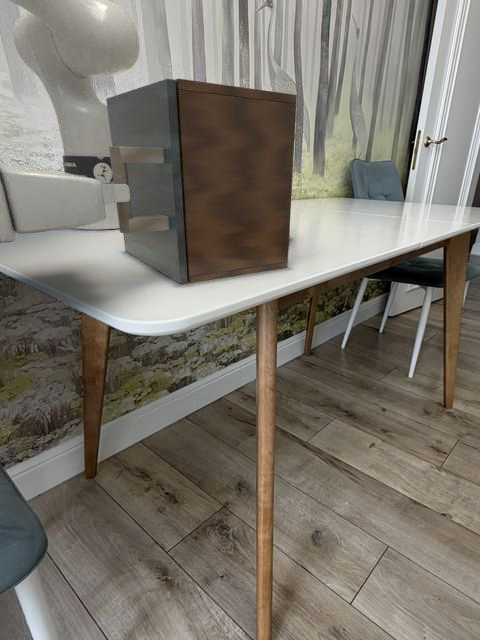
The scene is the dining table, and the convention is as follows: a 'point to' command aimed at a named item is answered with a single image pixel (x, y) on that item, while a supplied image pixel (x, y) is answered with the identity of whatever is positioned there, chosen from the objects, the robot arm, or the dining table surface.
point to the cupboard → (235, 178)
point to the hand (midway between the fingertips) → (123, 191)
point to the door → (150, 175)
